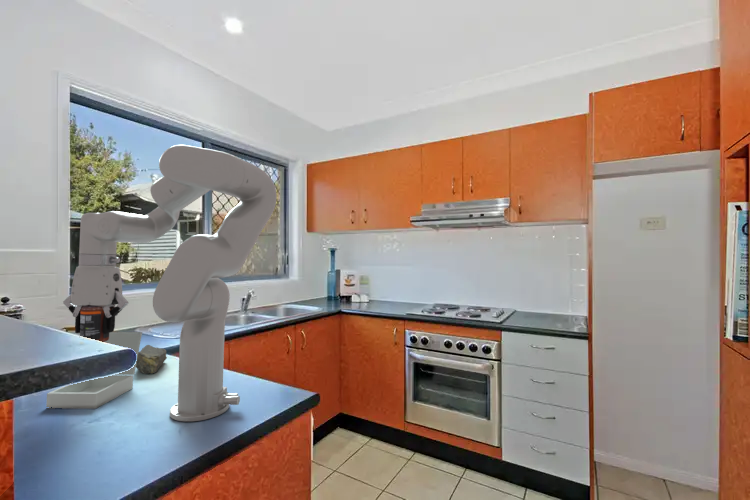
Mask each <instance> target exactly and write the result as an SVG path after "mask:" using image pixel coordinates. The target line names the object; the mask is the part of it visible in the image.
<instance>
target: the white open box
mask: <svg viewBox="0 0 750 500" xmlns="http://www.w3.org/2000/svg"><path fill="white" fill-rule="evenodd" d="M142 335H143V332H142V331H113V332H110V333H109V339H108V340H107V341H105V342H107V343H111V344H115V345H119V346H123V347H128V348H131V349H133V350H134V351H135V352H136V354H137V357H138V352H140V346H141V341H142ZM136 363H137V361H136ZM136 369H137V368H136V364H135V365H134V367H133V368H131V369H130V370H128V371H125V372H122V373H119V374H115V375H112V376H108V377H104V378H98V379H94V380H89V381H85V382H81V383H77V384H73V385H68V384H67V385H68V386H66V385H64V386H65V387H63V386H61V387H59V388H56V389H54V390H51V391H49V392H48V393H46V407H49V408H48V409H55V408H62V409H70V410H73V409H75V410H76V409H87V410H88V409H89V410H90V409H94V410H95V409H98V408H100V407H102V406H103V405H105V404H107V403H109V402H110V401H112V400H114V399H116V398H118V397H120V396H121V395H123V394H125V393H127V392H129V391H130V390H132V389H133V388H134V385H133V384H134V382H133V381H134V375H135V372H136ZM46 407H45V408H46ZM51 407H52V408H51ZM62 409H61V410H62Z"/></svg>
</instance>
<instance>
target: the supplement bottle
mask: <svg viewBox="0 0 750 500" xmlns="http://www.w3.org/2000/svg"><path fill="white" fill-rule="evenodd" d="M109 308H110V307H109ZM105 317H106V315H105V313H104V310H103V307H98V306H92V305H86V306H84V307H82V308H81V315H80V333H79V337H80V336H83V337H87V338H91V339H95V340H99V341H102V342H105V341H107V340H108V339H109V333H107V334H104V333H103V318H105Z"/></svg>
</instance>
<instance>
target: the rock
mask: <svg viewBox="0 0 750 500" xmlns="http://www.w3.org/2000/svg"><path fill="white" fill-rule="evenodd" d="M167 358H168V356H167V350H166V349H165V348H160V347H156V346H155V347H154V346H153V345H150V344H147V345H145V346H144V347H142V349H141V350H139V352H138V357H137V363H136V368H135V369H137V370H138V371H139V372H140V373H142V374H144V375H149V374H155V373H156V372H158V370H159V368H160V367H161V366H162V365H163V364H164V362H165V361H166V360H167Z"/></svg>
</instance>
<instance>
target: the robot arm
mask: <svg viewBox="0 0 750 500" xmlns="http://www.w3.org/2000/svg"><path fill="white" fill-rule="evenodd" d="M158 161H159V162H158V166H159V167H158V168H159V171H160V173H161V175H162V177H160V178H159V179H157V180H156V181H154V182H153V183H152V184H151V186H150V194H151V197H152V199H153V201H154V202H155V204H156V205H157V207H156V208H154V209H153V210H152V211H150V212H148V213H147V214H145V215H143V214H140V213H139V214H137V213H132V212H130V213H129V212H124V211H115V210H112V211H106V212H105V211H104V212H87V213H83V214H82V215H81V218H80V228H79V229H80V230H79V247H78V249H79V252H78V266H76V268H75V271H74V274H73V279H72V284H71V294H70V295H68V297H66V298H65V299H64V300H63V301H62V302H63V305H64V306H65V307H66V308H68V310H69V312H70V313H71V314H72V317H74V318H75V323H74V334H80V315H81V308H82V307H84V306H86V305H92V306H98V307H103V310H104V313H105V315H106V317H105V318H103V333H104V334H107V333H110V332H115V328H116V317H117V316H118V314H119V313H121V312H122V310H124V308H125V307H126V306H128V304H129V300H127V299H126V298H125V297H124V296H123V281H122V280H123V279H122V274H121V270H120V269H121V268H120V267H118V266H116V265H117V264H119V263H120V262H121V258H120V257H117V246H118V245H117V244H118V243H131V244H133V243H134V244H149V243H151V242H154V241H156V240H157V239H160V238H161V237H162V236H164V235H165V234H167V233H169V232H170V231H171V230H172V229H173V228H174V227H175V226H176V224H177V222H178V220H179V217H180V212H181V211H182V210H184V209H185V208H186V207H189V205H191V204H192V203H194V202H195V201H197V200H199V198H201V197H203V196H205V194H207V193H208V192H210V191H213V192H217V193H221V194H224V195H228V196H230V197H234V198H238V199H239V203H237V205H235V206H234V207H232V209H231V210H230V211H229V212H228V213H227V214H226V216H224V219H223V221H222V223H221V225H220V227H219V228H218V230H217V231H216V232H215V233H214V234H196V235H191V236H190V237H187V238H186V239H185V240H184V241H183V242H182V243H181V244H180V245H178V247H177V249H176V250H175V252H174V253H173V256H172V257H171V259H170V261H169V263H168V265H167V267H166V268H165V271H164V272H163V274H162V276H161V278H160V279H159V281H158V283H157V286H156V288H155V289H154V293H153V296H152V307H153V311H154V313H155V314H156V316H157V317H158V318H159V319H160V320H162V321H165V322H168V323H179V322H180V323H181V322H183V324H182V327H181V330H180V336H179V350H178V351H179V353H178V380H177V381H178V384H177V386H178V388H177V403H175V404H174V405H173V406H171V408H170V409H169V417H170V418H171V419H172V420H173V421H174V420H175V421H178V422H185V423H187V422H190V423H191V422H199V421H204V420H209V419H213V418H216V417H219V416H220V415H222V414H224V413H225V412H227V411H228V409H229V408H230V406H231V405H232V406H238V405H239V404H240V401H241V396H240V395H239V393H238V392H235V393H232V392H231V393H230V392H228V387H227V386H224V358H225V355H224V354H225V333H226V331H225V330H226V319H227V313H228V311H229V310H228V309H229V305H230V298H231V297H230V289H229V287H228V285H227V284H226V283H225V281H224V280H223V279H221V278H228V277H232V276H235V275H236V274H238V272H240V270H241V269H242V267H243V266H244V265H245V263H246V260H247V258H248V257H249V255H250V254H251V252H252V250H253V248H254V246H255V245H256V242H257V240H258V239H259V236H260V235H261V233H262V231H263V229H264V228H265V226H266V224H267V223H268V222H269V220H270V218H271V217H272V215H273V212H274V210H275V208H276V205H277V197H278V196H277V189H276V186H275V183H274V181H273V179H272V178H271V177H270V176H269V175H268V173H267V172H265V171H264V170H262V169H261V168H260V167H258V166H257V165H255V164H253V163H251V162H249V161H247V160H244V159H241V158H240V157H238V156H235V155H233V154H231V153H228V152H225V151H222V150H221V151H220V150H215V149H210V148H203V147H198V146H192V145H188V144H187V145H186V144H175V145H173V146H172V145H171V147H168V148H167V149H166V150H165V151H163V153H162V154H161V156H160V158H159V160H158ZM109 307H110V308H109Z"/></svg>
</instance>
